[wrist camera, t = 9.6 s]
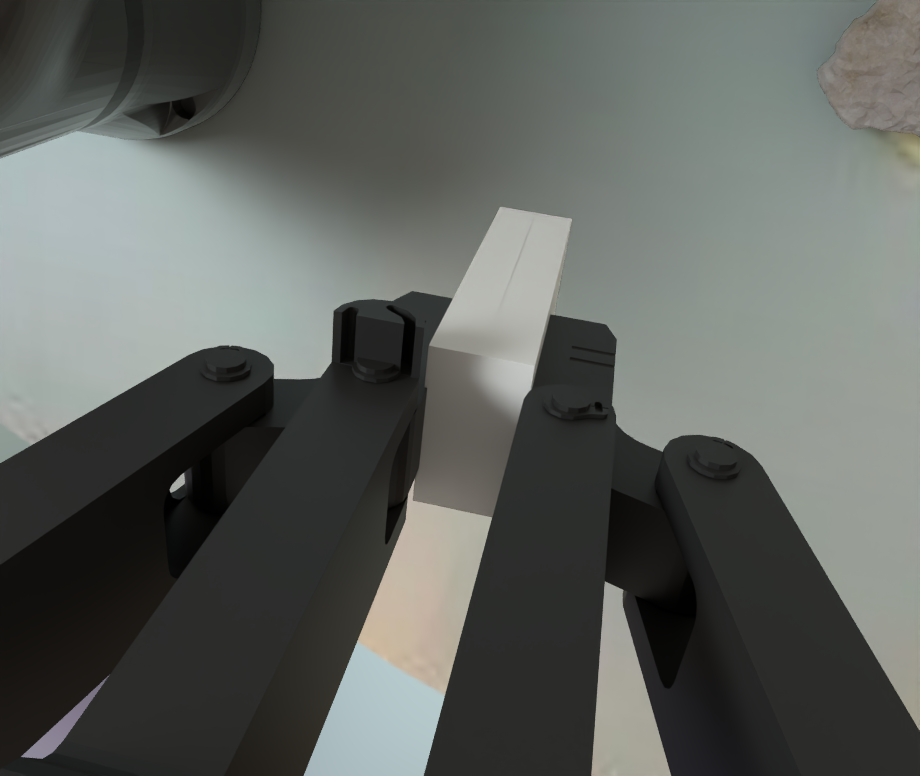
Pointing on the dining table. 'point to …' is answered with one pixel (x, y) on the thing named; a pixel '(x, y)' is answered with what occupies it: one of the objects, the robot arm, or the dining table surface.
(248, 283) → the dining table surface
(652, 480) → the robot arm
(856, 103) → the stone
